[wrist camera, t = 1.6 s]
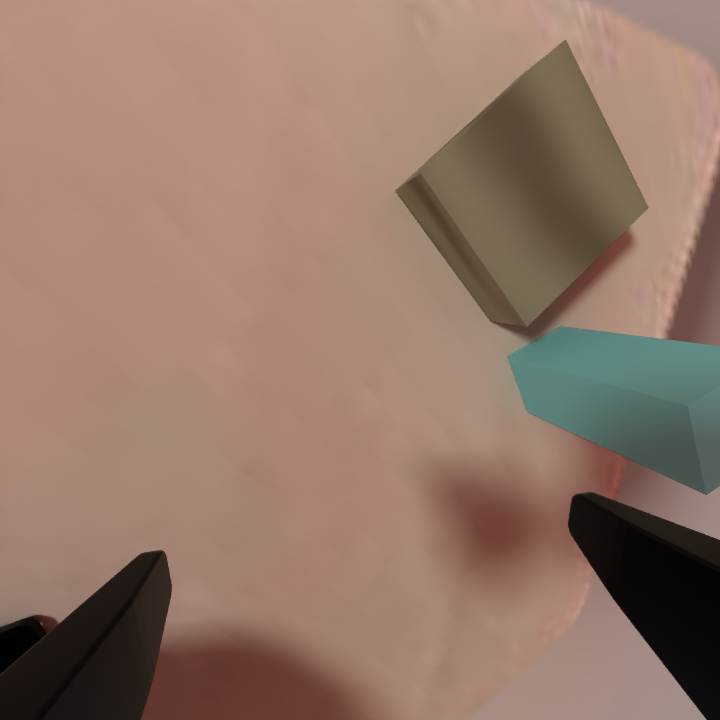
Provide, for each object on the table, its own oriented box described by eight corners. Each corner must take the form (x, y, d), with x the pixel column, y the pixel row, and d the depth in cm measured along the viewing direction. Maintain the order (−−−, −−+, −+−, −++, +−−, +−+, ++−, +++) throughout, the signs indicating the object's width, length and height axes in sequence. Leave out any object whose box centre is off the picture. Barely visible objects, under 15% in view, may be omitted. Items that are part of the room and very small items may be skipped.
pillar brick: (527, 411, 24) (706, 494, 14) (507, 356, 23) (687, 405, 13) (577, 381, 24) (782, 442, 15) (561, 326, 23) (770, 353, 14)
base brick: (486, 321, 22) (527, 326, 19) (392, 192, 20) (420, 173, 16) (591, 219, 23) (648, 207, 20) (514, 80, 20) (565, 39, 17)
